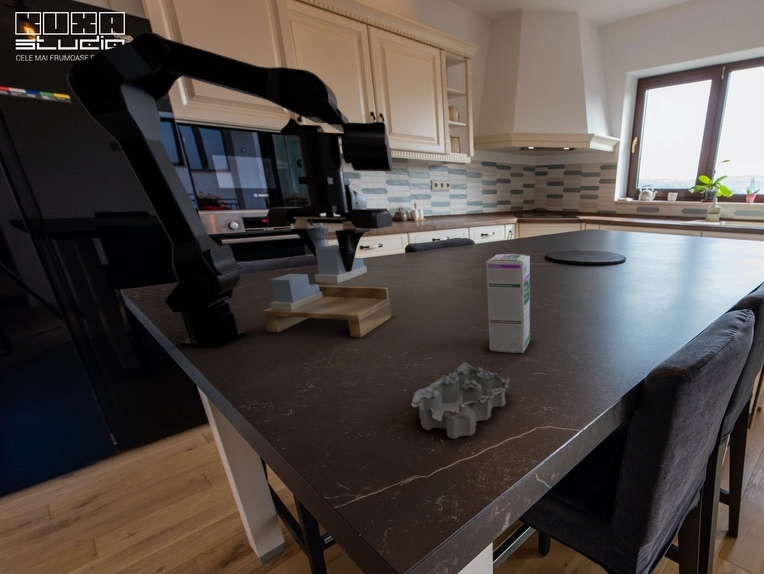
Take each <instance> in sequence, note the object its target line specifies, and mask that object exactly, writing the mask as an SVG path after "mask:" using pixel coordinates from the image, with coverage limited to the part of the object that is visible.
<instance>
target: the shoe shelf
mask: <svg viewBox="0 0 764 574" xmlns="http://www.w3.org/2000/svg"><path fill="white" fill-rule="evenodd" d="M318 285H319V290H320V292H322V295H323V298H320V299H318V300H315V301H313V302H311V303H308V304H306V305H304V306H301V307H299V308H296V309H294V310H273V309H271V307H269V308H267V309H264V310H262V313H263V317H264V321H265V325H266V330H267V332H268V333H280V332H282V331H284V330H286V329H289V328H290V327H292V326H295V325H297V324H299V323H301V322H303V321H306V320H307V319H326V320H342V321H343V320H344V321H348V327H349V328H348V329H349V334H350V337H351V338H362V337H364V336H365V335H367V334H368V333H370V332H371V331H373V330H374V329H376V328H377V327H379V326H380V325H382V324H383V323H385V322H386V321H388V320H389V319H391V318H392V312H391V301H390V294H389V293H390V292H389V287H379V286H378V287H377V286H350V285H324V284H323V285H322V284H318Z"/></svg>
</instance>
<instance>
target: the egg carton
mask: <svg viewBox="0 0 764 574" xmlns="http://www.w3.org/2000/svg"><path fill="white" fill-rule="evenodd" d="M510 381H511V378H510V377H507V376H506V377H505V378H502V377H500V375H499V374H498V373H497V372H491V371H489V370H488V369H483V368H482V367H480V366H478V367H474V366H473V365H471V364H470V363H468V362H465V361H464V362H462V363H461V364H460V365H459V366H458V367H457V368H456V369H454V371H452V372H448V374H447V375H445V374H443V375H442V376H441V377H439V379H438V380H436V381H434V382H432V383H431V384H430V385H429V386H427V387H424V388H420V389H418V390H416V391H415V392H414V394H413V397H412V400H411V406H412V407H413V408H417V407H418V415H419V420H420V425H421V427H422V429H424V430H426V431H430V430H432V429H437V428H438V429H439V428H440V429H444V430H446V436H447V438H450V439H453V440H454V439H458V438H460V437H470V436H472V435H473V434H475V432H476V427H477V422H480V421H488V420H489V418H491V417H492V409H493V408H496V407H498V408H502V407H504V406H505V405H506V395H505V394H506V391H507V389H506V388H509V387H510Z"/></svg>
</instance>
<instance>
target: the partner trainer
mask: <svg viewBox="0 0 764 574" xmlns="http://www.w3.org/2000/svg"><path fill="white" fill-rule="evenodd" d="M269 280H270V285H271V289H272V294H273V299H274V301H272V302H270V303H269V305H270V308H271V309H273V310H294V309H296V308H299V307H301V306H304V305H306V304H308V303H311V302H313V301H315V300H318V299H320V298H323V295H322V292H320V290H319V285H320V284H310V281H309V275H308V273H307V274H306V273H288V274H285V275H281V276H278V277H274V278H271V279H269Z"/></svg>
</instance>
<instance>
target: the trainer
mask: <svg viewBox="0 0 764 574" xmlns="http://www.w3.org/2000/svg"><path fill="white" fill-rule="evenodd" d="M315 251H316V257H317V259H316V263H317V269H318V273H316V274H314V280H315V283H326V284H340V283H342V282H345V281H347V280H351V279H353V278H356V277H358V276H361V275H364V274H366V273H368V271H367V269H368V268H367V265H365V262H364V258H363V257H355V258H354V262H353V267H352V270H351V271H350V272H346V270H345V267H344V264H343V261H342V257H341V253H340V249H339V244H331V245H327V246H326V247H322V248H317V249H315Z"/></svg>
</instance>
